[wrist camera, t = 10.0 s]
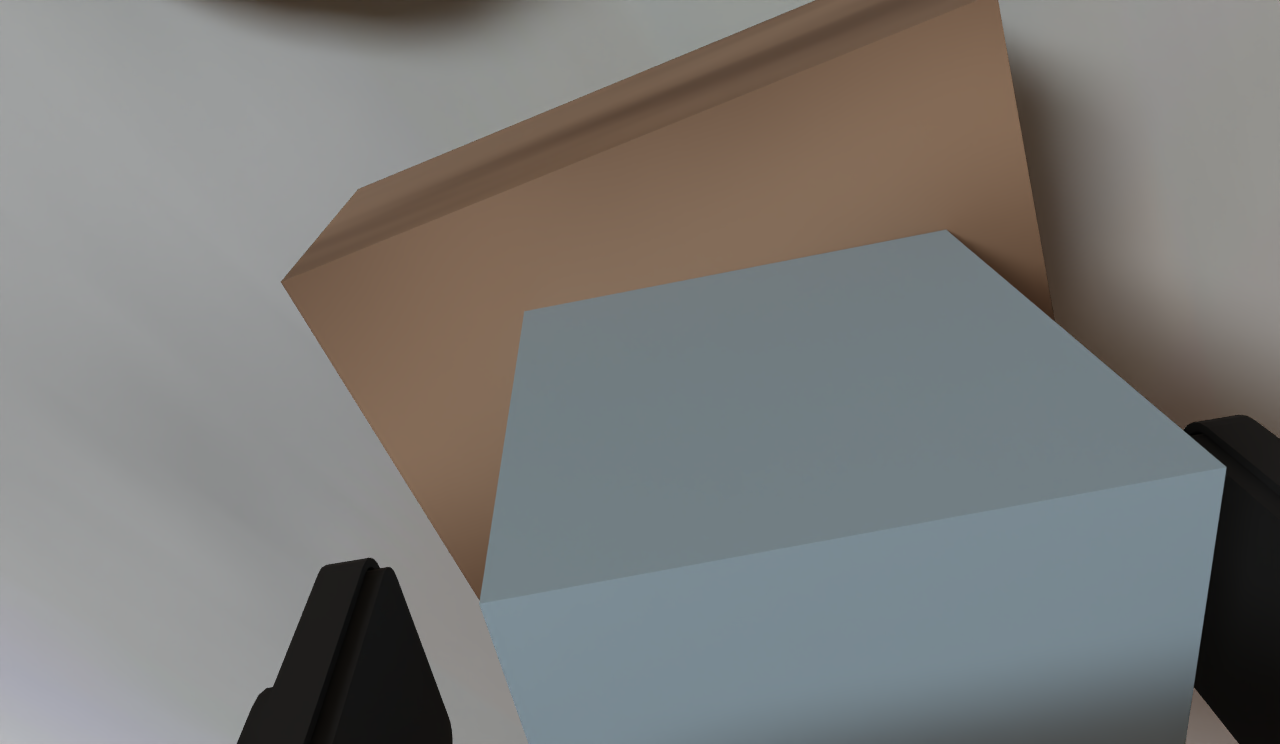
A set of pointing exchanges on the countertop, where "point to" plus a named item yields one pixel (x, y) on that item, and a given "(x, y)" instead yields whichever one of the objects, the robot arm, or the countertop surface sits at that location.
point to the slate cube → (842, 517)
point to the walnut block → (660, 214)
